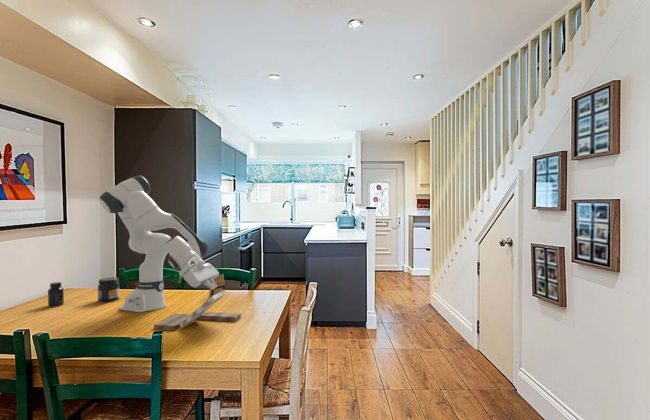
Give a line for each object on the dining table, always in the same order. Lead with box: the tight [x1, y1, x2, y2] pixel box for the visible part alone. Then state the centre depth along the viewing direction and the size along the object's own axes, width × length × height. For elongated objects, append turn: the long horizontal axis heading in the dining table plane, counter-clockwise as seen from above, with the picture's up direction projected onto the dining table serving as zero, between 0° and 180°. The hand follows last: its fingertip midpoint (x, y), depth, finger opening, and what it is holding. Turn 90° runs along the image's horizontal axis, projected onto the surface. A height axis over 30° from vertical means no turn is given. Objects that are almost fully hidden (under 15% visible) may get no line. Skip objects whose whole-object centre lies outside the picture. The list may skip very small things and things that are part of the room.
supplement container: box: [97, 276, 120, 303], centre depth 206 cm, size 10×10×12 cm
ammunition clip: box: [208, 273, 226, 298], centre depth 217 cm, size 11×2×12 cm, turn 149°
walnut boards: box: [153, 311, 242, 331], centre depth 165 cm, size 31×21×2 cm
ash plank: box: [179, 289, 228, 328], centre depth 162 cm, size 20×12×2 cm
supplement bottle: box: [47, 281, 65, 307], centre depth 195 cm, size 7×7×12 cm
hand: (214, 288), depth 161 cm, fingers closed
